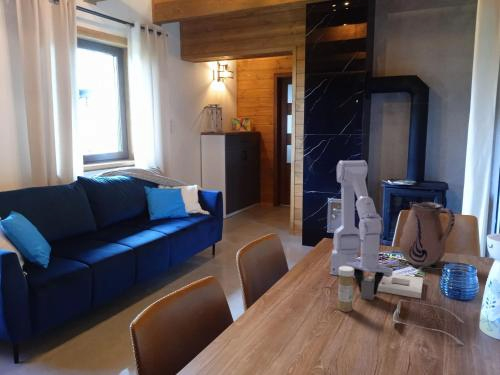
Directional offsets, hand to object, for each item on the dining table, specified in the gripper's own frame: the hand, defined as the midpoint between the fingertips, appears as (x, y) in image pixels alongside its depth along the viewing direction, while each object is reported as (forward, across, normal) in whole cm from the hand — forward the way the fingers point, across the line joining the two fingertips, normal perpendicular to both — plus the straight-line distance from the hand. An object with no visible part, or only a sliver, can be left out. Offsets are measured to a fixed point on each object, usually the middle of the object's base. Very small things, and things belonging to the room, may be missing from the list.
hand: (368, 292), depth 131 cm
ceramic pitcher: (+2, +16, +42) cm, 45 cm away
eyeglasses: (+2, +19, -12) cm, 23 cm away
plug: (+2, 0, 0) cm, 2 cm away
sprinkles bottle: (+2, -5, -12) cm, 13 cm away
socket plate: (+2, +9, +13) cm, 16 cm away
